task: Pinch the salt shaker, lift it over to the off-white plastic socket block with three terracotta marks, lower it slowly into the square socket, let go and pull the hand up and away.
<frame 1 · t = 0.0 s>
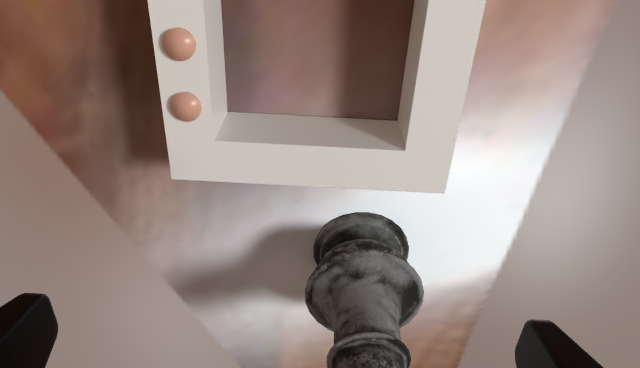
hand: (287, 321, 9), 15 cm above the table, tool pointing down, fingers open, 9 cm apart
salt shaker: (360, 248, 27), on the table
socket block: (315, 30, 21), on the table
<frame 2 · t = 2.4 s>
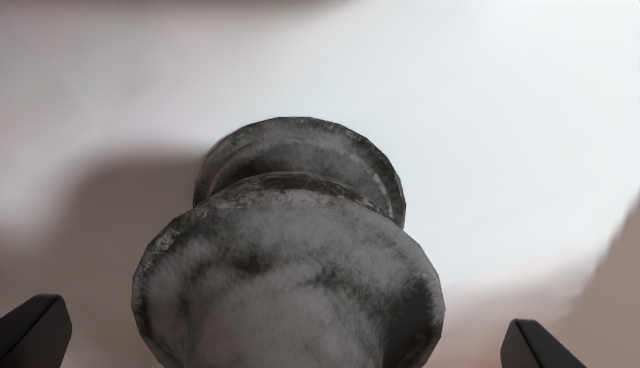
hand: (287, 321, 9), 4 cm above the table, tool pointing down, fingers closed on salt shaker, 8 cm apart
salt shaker: (299, 208, 12), on the table, touching gripper
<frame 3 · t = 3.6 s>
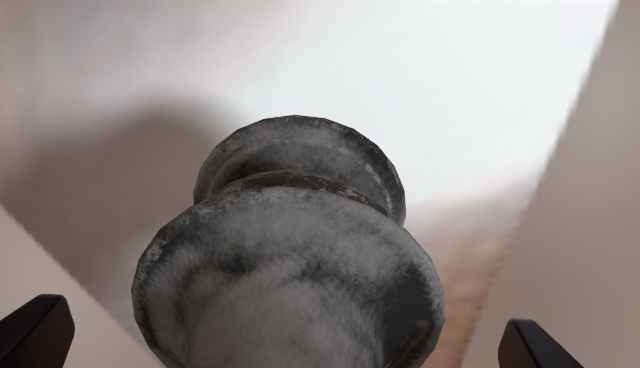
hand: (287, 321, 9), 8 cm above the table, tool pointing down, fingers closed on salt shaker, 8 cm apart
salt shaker: (300, 207, 12), point 4 cm above the table, touching gripper
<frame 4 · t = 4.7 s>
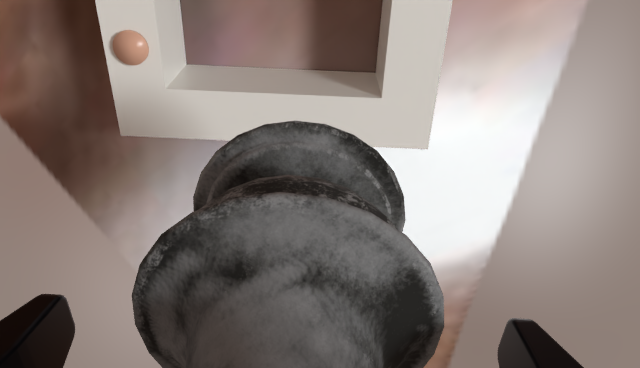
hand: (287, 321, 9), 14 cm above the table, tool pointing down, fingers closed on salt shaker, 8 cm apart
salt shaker: (299, 212, 12), point 10 cm above the table, touching gripper
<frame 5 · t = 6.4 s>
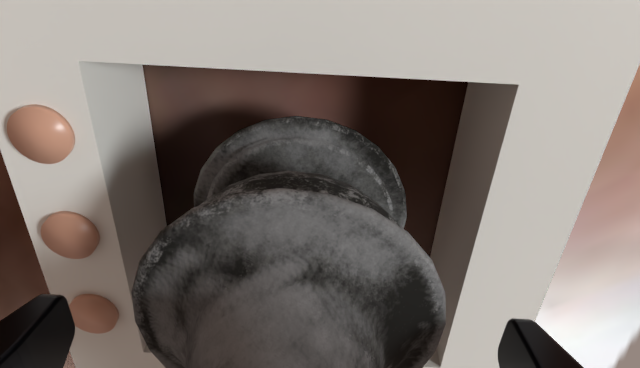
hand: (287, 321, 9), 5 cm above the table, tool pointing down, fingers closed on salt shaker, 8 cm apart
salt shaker: (300, 208, 12), point 1 cm above the table, touching gripper
socket block: (302, 175, 13), on the table
when the fingers open (5 cm above the table, at t = 7.5 s): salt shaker drops 1 cm, resting in socket block.
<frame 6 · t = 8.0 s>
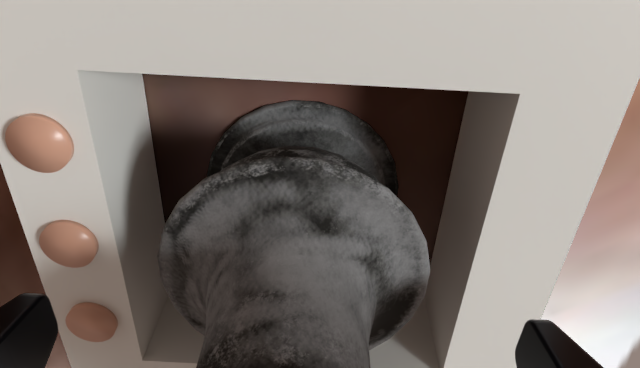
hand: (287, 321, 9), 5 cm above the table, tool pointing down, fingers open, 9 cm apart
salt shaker: (302, 185, 14), resting in socket block
socket block: (302, 182, 13), on the table
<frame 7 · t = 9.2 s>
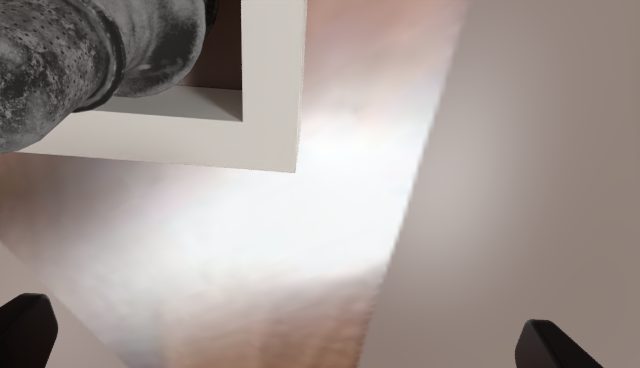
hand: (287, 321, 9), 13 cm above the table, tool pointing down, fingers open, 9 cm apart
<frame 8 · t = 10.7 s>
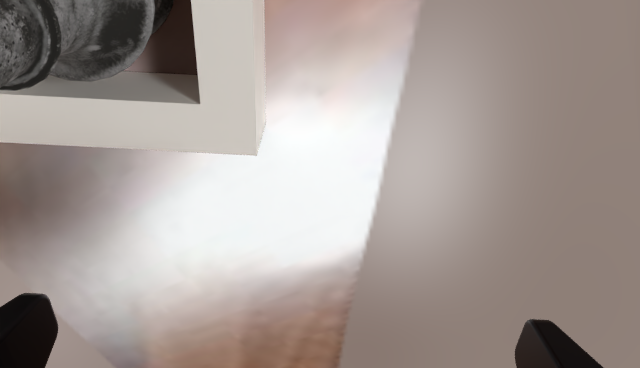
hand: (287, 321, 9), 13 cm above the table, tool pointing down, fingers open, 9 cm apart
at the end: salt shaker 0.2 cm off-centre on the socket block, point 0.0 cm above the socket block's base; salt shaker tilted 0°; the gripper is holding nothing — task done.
